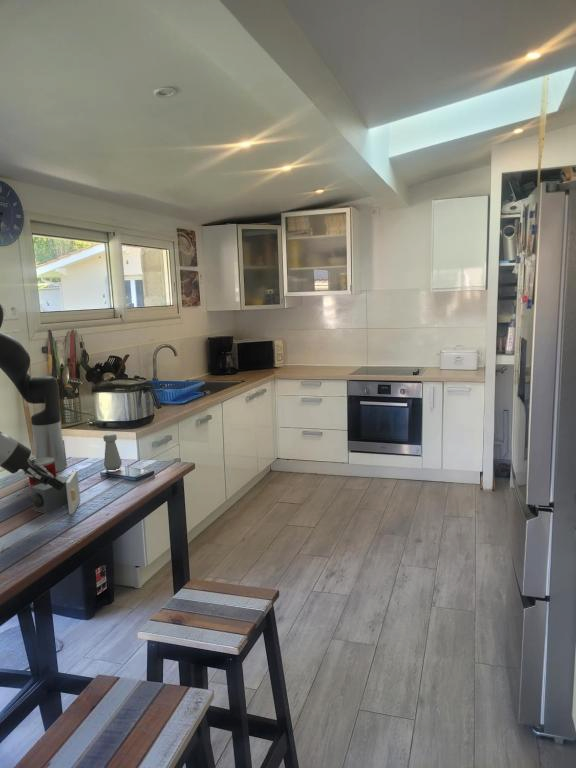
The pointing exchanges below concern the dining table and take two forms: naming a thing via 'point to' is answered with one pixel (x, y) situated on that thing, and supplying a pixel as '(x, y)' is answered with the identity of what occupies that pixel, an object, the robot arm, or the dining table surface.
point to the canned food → (46, 463)
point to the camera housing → (49, 497)
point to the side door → (73, 492)
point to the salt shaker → (111, 453)
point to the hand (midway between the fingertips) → (61, 487)
